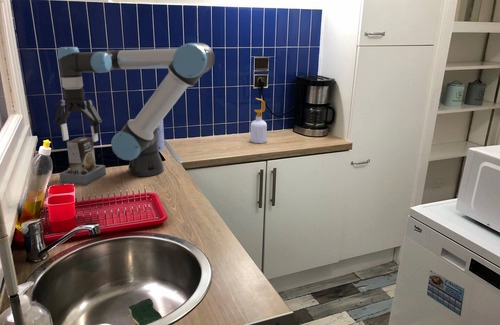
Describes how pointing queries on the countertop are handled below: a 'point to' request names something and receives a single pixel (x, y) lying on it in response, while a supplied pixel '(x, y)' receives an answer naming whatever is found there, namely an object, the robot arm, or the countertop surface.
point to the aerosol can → (161, 136)
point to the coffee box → (81, 155)
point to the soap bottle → (259, 127)
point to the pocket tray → (83, 176)
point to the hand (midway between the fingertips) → (80, 140)
